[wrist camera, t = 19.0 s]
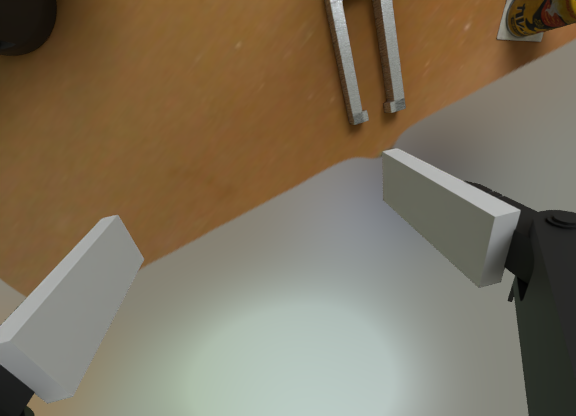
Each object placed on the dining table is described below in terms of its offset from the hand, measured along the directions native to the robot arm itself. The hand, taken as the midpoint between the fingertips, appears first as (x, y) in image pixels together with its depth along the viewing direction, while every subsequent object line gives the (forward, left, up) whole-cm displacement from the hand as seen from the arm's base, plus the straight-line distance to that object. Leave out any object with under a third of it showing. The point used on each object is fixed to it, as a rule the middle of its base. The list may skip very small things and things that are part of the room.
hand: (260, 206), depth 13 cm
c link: (+12, +14, -29) cm, 34 cm away
